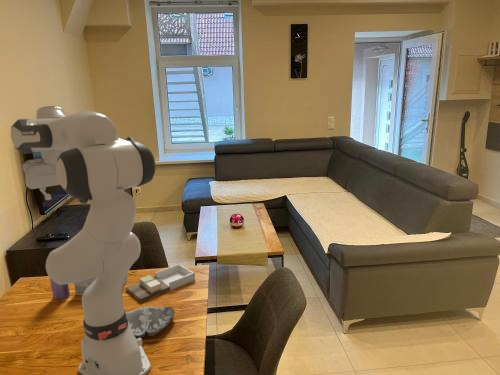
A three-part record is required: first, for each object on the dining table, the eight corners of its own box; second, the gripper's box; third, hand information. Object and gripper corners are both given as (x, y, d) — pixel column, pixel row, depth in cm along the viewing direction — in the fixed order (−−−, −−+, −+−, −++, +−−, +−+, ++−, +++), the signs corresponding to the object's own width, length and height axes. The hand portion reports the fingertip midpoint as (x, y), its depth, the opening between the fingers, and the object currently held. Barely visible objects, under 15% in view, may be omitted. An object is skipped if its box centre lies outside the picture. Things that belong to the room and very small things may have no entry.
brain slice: (115, 348, 119) (114, 340, 119) (118, 318, 135) (117, 311, 134) (177, 336, 124) (176, 328, 124) (173, 309, 140) (172, 301, 140)
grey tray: (194, 280, 161) (194, 272, 160) (170, 290, 153) (169, 282, 152) (179, 270, 170) (178, 263, 169) (155, 279, 162) (154, 272, 161)
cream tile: (161, 288, 151) (160, 283, 151) (151, 292, 148) (150, 287, 148) (156, 284, 155) (155, 279, 154) (146, 288, 152) (145, 283, 151)
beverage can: (65, 300, 148) (59, 265, 144) (50, 300, 148) (44, 266, 144) (72, 292, 153) (67, 259, 150) (58, 293, 154) (52, 259, 150)
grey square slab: (170, 290, 153) (170, 286, 153) (140, 302, 145) (140, 298, 144) (155, 279, 162) (154, 276, 162) (126, 290, 154) (126, 286, 154)
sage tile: (154, 283, 155) (154, 278, 155) (144, 287, 152) (144, 282, 152) (149, 280, 159) (149, 275, 158) (139, 283, 156) (139, 278, 155)
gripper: (23, 162, 115) (31, 205, 118) (91, 153, 128) (96, 192, 131) (19, 159, 119) (26, 201, 123) (84, 151, 132) (90, 189, 136)
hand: (63, 196), depth 127 cm, fingers open, 8 cm apart
